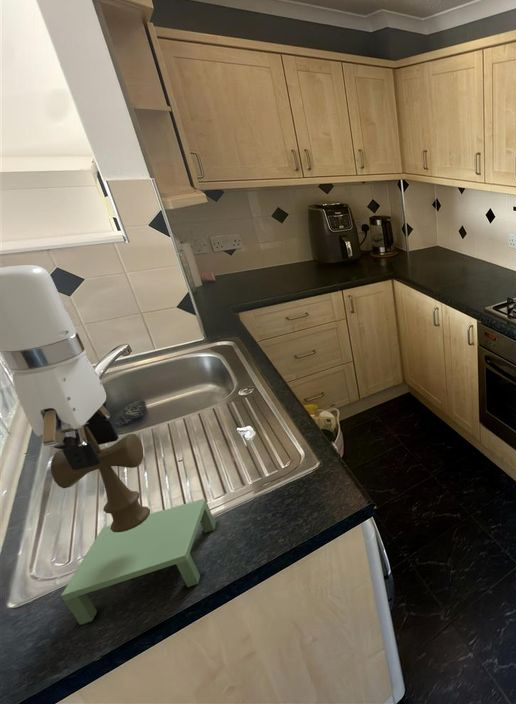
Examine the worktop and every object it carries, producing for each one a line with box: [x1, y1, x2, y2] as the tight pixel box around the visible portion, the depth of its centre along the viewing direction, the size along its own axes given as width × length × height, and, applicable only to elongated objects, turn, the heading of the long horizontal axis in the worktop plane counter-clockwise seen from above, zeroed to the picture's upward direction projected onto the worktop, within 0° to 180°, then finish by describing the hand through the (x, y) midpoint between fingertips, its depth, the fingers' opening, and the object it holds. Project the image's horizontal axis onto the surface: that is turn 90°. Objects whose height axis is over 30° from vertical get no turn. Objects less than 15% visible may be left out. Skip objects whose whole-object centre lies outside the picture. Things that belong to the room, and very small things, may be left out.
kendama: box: [50, 425, 151, 532], centre depth 67 cm, size 6×10×20 cm, turn 118°
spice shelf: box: [60, 498, 217, 626], centre depth 73 cm, size 16×14×7 cm
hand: (97, 452), depth 65 cm, fingers closed on kendama, 5 cm apart
